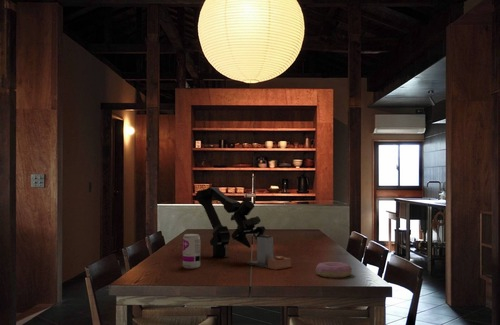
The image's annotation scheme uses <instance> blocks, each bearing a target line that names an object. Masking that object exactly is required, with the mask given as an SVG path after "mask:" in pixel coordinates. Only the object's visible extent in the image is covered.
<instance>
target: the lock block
mask: <svg viewBox="0 0 500 325" xmlns="http://www.w3.org/2000/svg"><path fill="white" fill-rule="evenodd" d="M268 259H274V237H273V236H272V235H266V234H263V235H259V237H257V240H256V260H257V262H258V263H263V264H267V263H268Z"/></svg>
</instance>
